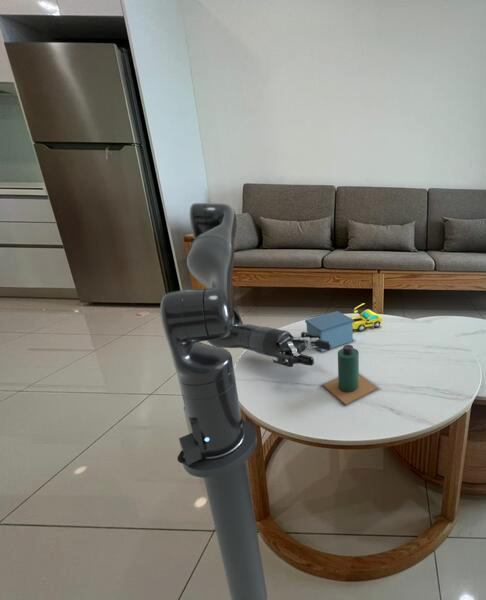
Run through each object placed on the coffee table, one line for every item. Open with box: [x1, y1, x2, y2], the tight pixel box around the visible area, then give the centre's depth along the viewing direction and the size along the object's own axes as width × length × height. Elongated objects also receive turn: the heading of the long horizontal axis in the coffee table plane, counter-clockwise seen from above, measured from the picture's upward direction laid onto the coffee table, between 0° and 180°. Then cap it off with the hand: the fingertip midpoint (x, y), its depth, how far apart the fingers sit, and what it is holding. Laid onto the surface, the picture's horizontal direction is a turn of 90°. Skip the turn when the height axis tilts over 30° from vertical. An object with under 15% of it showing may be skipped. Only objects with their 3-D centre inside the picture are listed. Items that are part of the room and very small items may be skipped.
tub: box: [304, 310, 354, 353], centre depth 106 cm, size 13×10×8 cm
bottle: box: [337, 344, 360, 392], centre depth 82 cm, size 5×5×12 cm
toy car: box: [350, 302, 383, 332], centre depth 117 cm, size 12×8×8 cm, turn 120°
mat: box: [322, 374, 378, 406], centre depth 84 cm, size 10×10×1 cm
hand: (322, 353), depth 83 cm, fingers open, 8 cm apart
